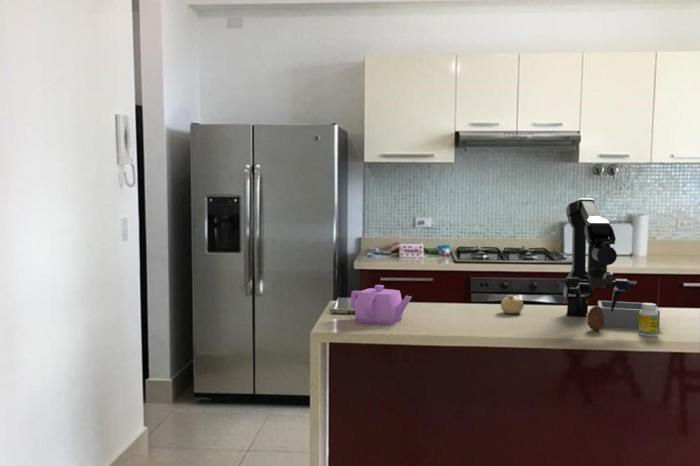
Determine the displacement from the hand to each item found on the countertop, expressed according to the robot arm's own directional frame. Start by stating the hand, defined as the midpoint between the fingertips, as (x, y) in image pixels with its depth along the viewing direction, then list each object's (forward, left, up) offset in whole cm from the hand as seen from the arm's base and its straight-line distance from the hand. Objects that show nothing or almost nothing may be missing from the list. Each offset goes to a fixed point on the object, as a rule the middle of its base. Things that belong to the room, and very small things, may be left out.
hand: (596, 310), depth 199 cm
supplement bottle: (+15, -1, -7) cm, 16 cm away
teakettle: (-69, -8, -7) cm, 70 cm away
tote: (+10, +15, -6) cm, 19 cm away
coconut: (0, 0, -7) cm, 7 cm away
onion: (-28, +20, -7) cm, 35 cm away
